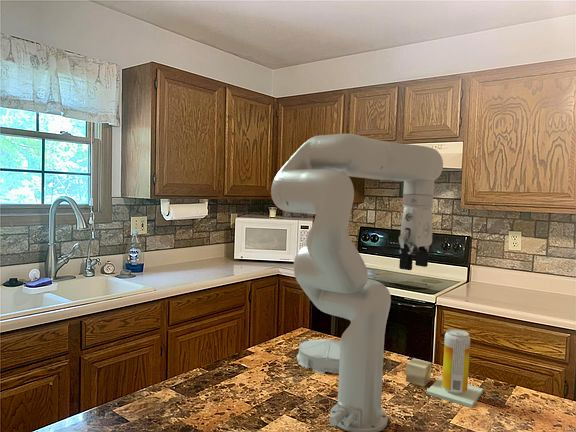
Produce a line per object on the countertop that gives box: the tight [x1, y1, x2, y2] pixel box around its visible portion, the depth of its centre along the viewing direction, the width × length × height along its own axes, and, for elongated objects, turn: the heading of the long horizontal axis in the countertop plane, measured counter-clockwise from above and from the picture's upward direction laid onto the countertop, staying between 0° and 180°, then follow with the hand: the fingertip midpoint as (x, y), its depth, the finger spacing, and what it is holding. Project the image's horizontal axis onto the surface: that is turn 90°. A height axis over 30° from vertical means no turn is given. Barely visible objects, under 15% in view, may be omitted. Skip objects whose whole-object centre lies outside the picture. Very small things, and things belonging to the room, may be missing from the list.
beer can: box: [441, 328, 471, 394], centre depth 112 cm, size 6×6×15 cm
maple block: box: [405, 357, 432, 387], centre depth 120 cm, size 5×5×5 cm
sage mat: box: [425, 376, 484, 409], centre depth 113 cm, size 11×11×1 cm
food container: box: [296, 338, 341, 375], centre depth 132 cm, size 20×20×7 cm
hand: (413, 267), depth 115 cm, fingers open, 9 cm apart
